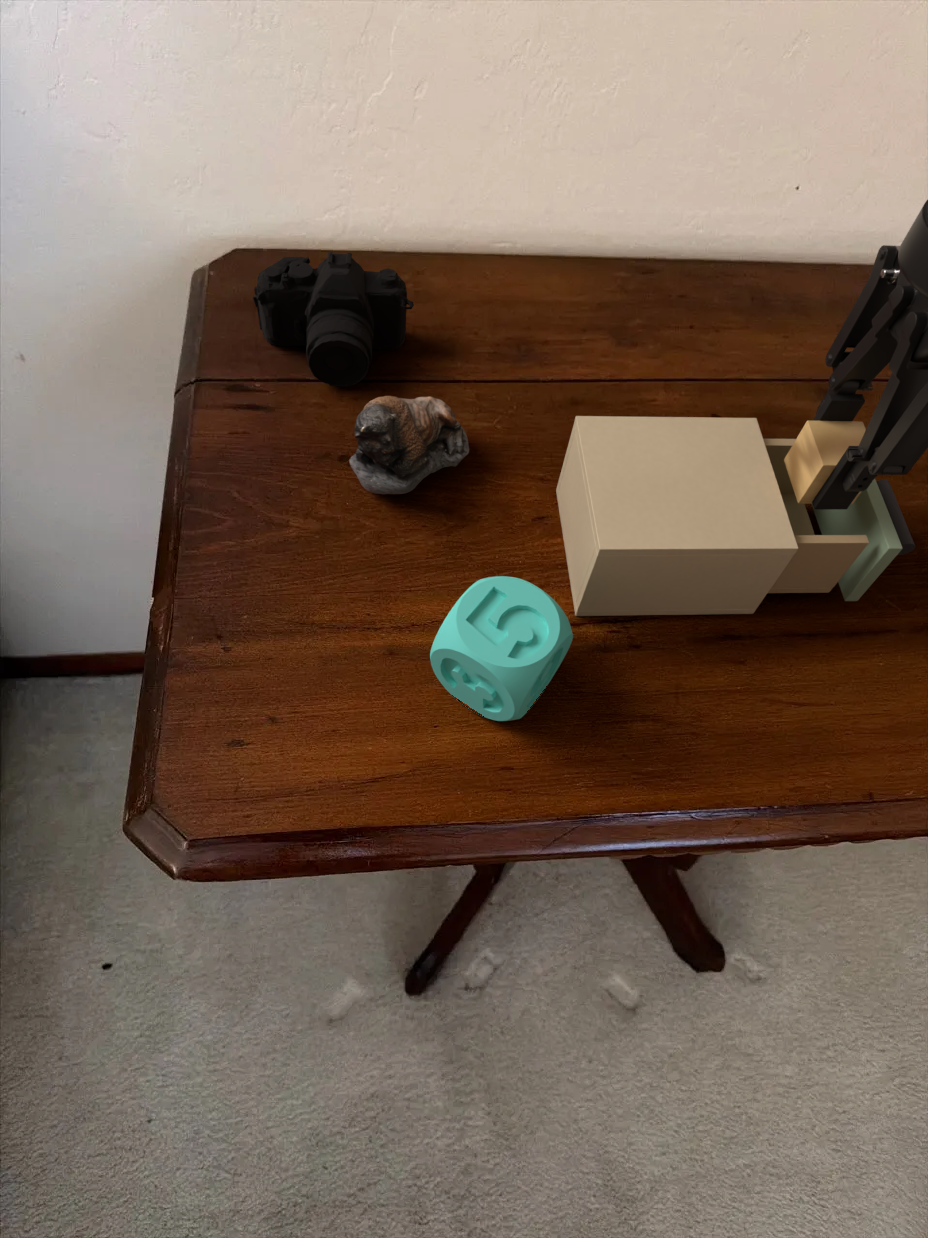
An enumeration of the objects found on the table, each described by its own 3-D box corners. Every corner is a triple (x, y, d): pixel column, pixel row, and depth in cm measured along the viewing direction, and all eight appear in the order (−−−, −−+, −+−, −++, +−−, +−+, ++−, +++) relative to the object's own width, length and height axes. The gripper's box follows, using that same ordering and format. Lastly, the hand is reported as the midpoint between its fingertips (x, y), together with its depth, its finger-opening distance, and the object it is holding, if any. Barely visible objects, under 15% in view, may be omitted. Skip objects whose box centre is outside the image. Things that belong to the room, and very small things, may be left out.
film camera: (253, 387, 84) (241, 310, 77) (262, 318, 89) (251, 240, 82) (411, 393, 86) (415, 318, 78) (411, 325, 91) (415, 249, 83)
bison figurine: (430, 417, 84) (436, 334, 76) (483, 459, 82) (496, 378, 74) (336, 483, 79) (331, 401, 71) (390, 529, 77) (392, 451, 68)
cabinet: (719, 490, 83) (756, 417, 74) (753, 614, 76) (798, 548, 67) (555, 490, 81) (575, 415, 73) (575, 616, 74) (599, 549, 66)
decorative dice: (482, 613, 73) (493, 557, 67) (563, 665, 71) (583, 613, 65) (425, 681, 70) (431, 629, 63) (509, 737, 68) (524, 690, 61)
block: (783, 459, 72) (807, 420, 68) (836, 460, 73) (862, 421, 69) (797, 503, 70) (823, 465, 66) (852, 504, 71) (880, 465, 67)
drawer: (858, 489, 83) (900, 431, 76) (901, 600, 77) (950, 548, 70) (668, 489, 81) (694, 429, 74) (695, 603, 75) (726, 549, 68)
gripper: (1117, 323, 47) (898, 569, 67) (994, 135, 56) (833, 401, 76) (987, 319, 47) (804, 570, 66) (883, 130, 56) (750, 400, 75)
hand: (820, 479), depth 71 cm, fingers closed on block, 5 cm apart
